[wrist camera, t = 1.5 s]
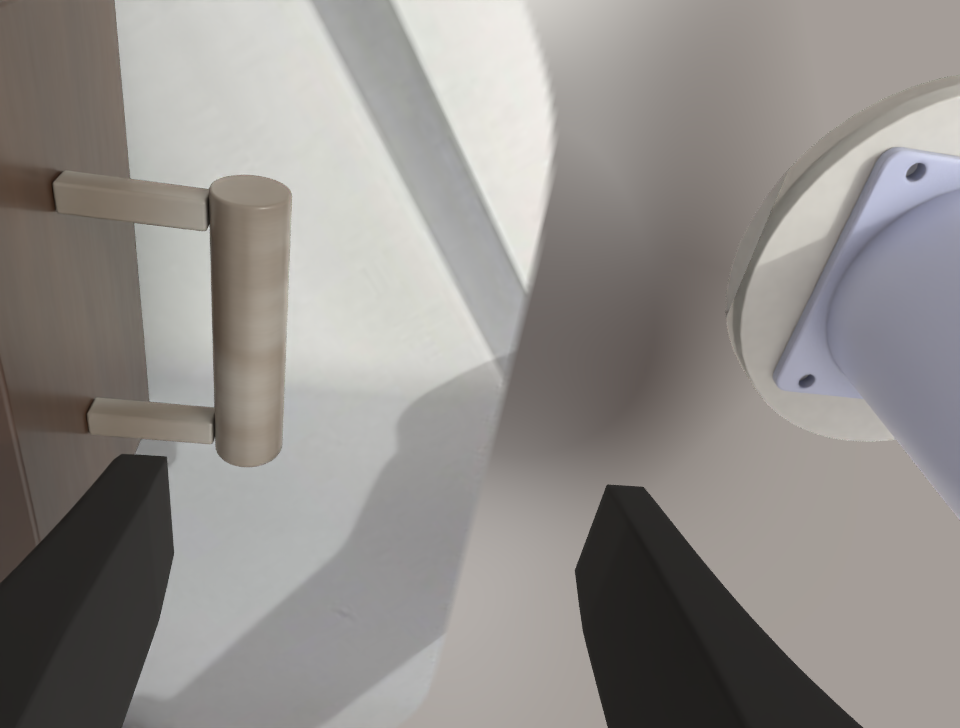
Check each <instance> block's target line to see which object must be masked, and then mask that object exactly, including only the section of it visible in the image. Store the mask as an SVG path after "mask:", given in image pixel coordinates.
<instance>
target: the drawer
mask: <svg viewBox="0 0 960 728" xmlns="http://www.w3.org/2000/svg"><path fill="white" fill-rule="evenodd" d="M291 211H292V194H291V191H290V189H289V188H288V187H287V186H285V185H284V184H282V183H280V182H278V181H276V180H273V179H270V178H266V177H261V176H254V175H234V176H227V177H223V178H220V179H218V180H216V181H214V182H213V183H212V184H211V185H210V188H209V189H203V188H196V187H188V186H181V185H173V184H165V183H158V182H150V181H143V180H135V179H130V173H129V162H128V150H127V139H126V127H125V116H124V104H123V93H122V82H121V70H120V59H119V47H118V36H117V24H116V13H115V1H114V0H0V583H1V582H2V581H3V580H4V579H5V578H6V577H7V576H8V575H9V574H10V573H11V572H12V571H13V570H14V569H15V568H16V567H17V566H18V565H19V564H20V563H21V562H22V561H23V560H24V558H25V557H26V556H27V555H28V554H29V553H30V552H31V551H32V550H33V549H34V548H35V547H36V546H37V545H38V544H39V543H40V542H41V541H42V540H43V539H44V538H45V537H46V536H47V535H48V533H49V532H50V531H51V530H52V529H53V528H54V527H55V526H56V525H57V524H58V523H59V522H60V521H61V519H62V518H63V517H64V516H65V515H66V514H67V513H68V512H69V511H70V510H71V508H72V507H73V506H74V505H75V504H76V503H77V502H78V501H79V499H80V498H81V497H82V496H83V495H84V494H85V493H86V491H87V490H88V489H89V488H90V487H91V486H92V484H93V483H94V482H95V481H96V480H97V479H98V477H99V476H100V475H101V474H102V473H103V471H104V470H105V469H106V468H107V467H108V465H109V464H110V463H111V462H112V461H113V459H115V458H116V457H118V456H119V455H120V454H133V455H134V454H135V452H136V450H137V447H138V445H139V443H140V440H141V439H151V440H164V441H177V442H189V443H202V444H212V443H213V441H214V438H215V447H216V451H217V453H218V454H219V456H220V457H221V458H222V459H223V460H224V461H226V462H227V463H230V464H232V465H235V466H240V467H255V466H260V465H263V464H266V463H268V462H270V461H272V460H273V459H274V458H275V457H276V456H277V455H278V454H279V453H280V451H281V448H282V439H283V413H284V388H285V363H286V337H287V312H288V287H289V261H290V236H291ZM134 223H140V224H148V225H157V226H165V227H173V228H181V229H189V230H197V231H206V230H207V228H208V226H209V224H210V257H211V295H212V334H213V372H214V407H203V406H191V405H180V404H168V403H157V402H149V391H148V379H147V368H146V356H145V345H144V333H143V322H142V310H141V299H140V288H139V276H138V265H137V253H136V242H135V230H134Z"/></svg>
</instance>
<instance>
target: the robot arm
mask: <svg viewBox="0 0 960 728" xmlns="http://www.w3.org/2000/svg"><path fill="white" fill-rule="evenodd" d="M915 163H918V166H917V169H916V170H915V171H914V172H913V173H912V174H910V175H909V176H906V173H907V170H908V169H909V168H910V167H911V166H912V165H914V164H915ZM805 375H808V377H807V378H805V379H803V380H800V379H801V378H802V377H803V376H805ZM773 380H774V382H775V384H776V385H777V387H778V388H779V389H780V390H783V391H789V392H799V393H809V394H818V395H828V396H838V397H848V398H857V399H864V400H865V401H866V402H867V404H868V405H869V406H870V407H871V409H872V410H873V411H874V412H875V414H876V415H877V416H878V418H879V419H880V420H881V421H882V423H883V424H884V425H885V426H886V428H887V429H888V430H889V432H890V433H891V434H892V435H893V437H894V438H895V439H896V440H897V442H898V443H899V444H900V445H901V447H902V448H903V449H904V450H905V452H906V453H907V454H908V456H909V457H910V458H911V459H912V461H913V462H914V463H915V464H916V466H917V467H918V468H919V470H920V471H921V472H922V473H923V475H924V476H925V477H926V478H927V479H928V481H929V482H930V483H931V485H932V486H933V487H934V488H935V490H936V491H937V492H938V494H939V495H940V496H941V497H942V499H943V500H944V501H945V502H946V504H947V505H948V506H949V507H950V509H951V510H952V511H953V512H954V514H955V515H956V516H957V518H958V519H959V520H960V156H954V155H948V154H942V153H935V152H929V151H923V150H917V149H911V148H905V147H894V148H891V149H889V150H887V151H886V152H884V153H883V154H882V155H881V156H880V157H879V159H878V160H877V161H876V163H875V165H874V167H873V169H872V171H871V173H870V175H869V177H868V180H867V182H866V184H865V186H864V188H863V190H862V192H861V194H860V196H859V198H858V200H857V202H856V204H855V206H854V208H853V210H852V212H851V214H850V216H849V218H848V221H847V223H846V225H845V227H844V229H843V231H842V233H841V235H840V237H839V239H838V241H837V243H836V245H835V247H834V249H833V251H832V253H831V255H830V257H829V259H828V262H827V264H826V266H825V268H824V270H823V272H822V274H821V276H820V278H819V280H818V282H817V284H816V286H815V288H814V290H813V292H812V294H811V296H810V298H809V300H808V303H807V305H806V307H805V309H804V311H803V313H802V315H801V317H800V319H799V321H798V323H797V325H796V327H795V329H794V331H793V333H792V335H791V337H790V339H789V341H788V344H787V346H786V348H785V350H784V352H783V354H782V356H781V358H780V360H779V362H778V364H777V366H776V368H775V370H774V373H773ZM173 556H174V546H173V533H172V520H171V506H170V493H169V480H168V466H167V457H164V456H149V455H133V454H120V455H119V456H118V457H116V458H115V459H113V461H112V462H111V463H110V464H109V465H108V467H107V468H106V469H105V470H104V471H103V473H102V474H101V475H100V476H99V477H98V479H97V480H96V481H95V482H94V483H93V484H92V486H91V487H90V488H89V489H88V490H87V491H86V493H85V494H84V495H83V496H82V497H81V498H80V499H79V501H78V502H77V503H76V504H75V505H74V506H73V507H72V508H71V510H70V511H69V512H68V513H67V514H66V515H65V516H64V517H63V518H62V519H61V521H60V522H59V523H58V524H57V525H56V526H55V527H54V528H53V529H52V530H51V531H50V532H49V533H48V535H47V536H46V537H45V538H44V539H43V540H42V541H41V542H40V543H39V544H38V545H37V546H36V547H35V548H34V549H33V550H32V551H31V552H30V553H29V554H28V555H27V556H26V557H25V558H24V560H23V561H22V562H21V563H20V564H19V565H18V566H17V567H16V568H15V569H14V570H13V571H12V572H11V573H10V574H9V575H8V576H7V577H6V578H5V579H4V580H3V581H2V582H1V583H0V728H122V725H123V722H124V719H125V716H126V714H127V711H128V708H129V705H130V702H131V699H132V697H133V694H134V691H135V688H136V685H137V682H138V680H139V677H140V674H141V671H142V668H143V665H144V662H145V659H146V657H147V654H148V651H149V648H150V645H151V642H152V639H153V636H154V633H155V631H156V628H157V625H158V622H159V618H160V614H161V610H162V605H163V601H164V597H165V592H166V588H167V583H168V579H169V574H170V570H171V565H172V561H173ZM575 575H576V583H577V591H578V600H579V607H580V614H581V621H582V628H583V633H584V638H585V642H586V646H587V649H588V653H589V657H590V661H591V665H592V669H593V673H594V677H595V681H596V684H597V688H598V692H599V696H600V700H601V703H602V707H603V711H604V715H605V718H606V722H607V726H608V728H863V727H862V726H861V725H859V724H858V723H857V722H856V721H855V720H854V719H853V718H852V717H851V716H849V715H848V714H847V713H846V712H845V711H844V710H843V709H842V708H841V707H840V706H839V705H837V704H836V703H835V702H834V701H833V700H832V699H831V698H830V697H829V696H828V695H827V694H826V693H825V692H824V691H823V690H822V689H820V688H819V687H818V686H817V685H816V684H815V683H814V682H813V681H812V680H811V679H810V678H809V677H808V676H807V675H806V674H805V673H804V672H803V671H802V670H801V669H800V668H799V667H798V666H797V665H796V664H795V663H794V662H793V661H792V660H791V659H790V658H789V657H788V656H787V655H786V654H785V653H784V652H783V651H782V650H781V649H780V648H779V647H778V645H776V643H775V642H774V641H773V640H772V639H771V638H770V637H769V636H768V635H767V634H766V633H765V632H764V631H763V630H762V628H761V627H759V625H758V624H757V623H756V622H755V621H754V620H753V619H752V618H751V617H750V616H749V614H748V613H747V612H746V611H745V610H744V609H743V607H742V606H741V605H740V604H739V603H738V602H737V601H736V599H735V598H734V597H733V596H732V595H731V594H730V593H729V591H728V590H727V589H726V588H725V587H724V586H723V584H722V583H721V582H720V581H719V580H718V578H717V577H716V576H715V575H714V574H713V572H712V571H711V570H710V569H709V568H708V567H707V565H706V564H705V563H704V562H703V560H702V559H701V558H700V557H699V556H698V554H697V553H696V552H695V550H693V548H692V547H691V546H690V545H689V543H688V542H687V541H686V539H685V538H684V537H683V536H682V534H681V533H680V532H679V531H678V529H677V528H676V527H675V526H674V524H673V523H672V522H671V521H670V519H669V518H668V517H667V515H666V514H665V513H664V512H663V511H662V509H661V508H660V507H659V505H658V504H657V503H656V502H655V500H654V499H653V498H652V497H651V496H650V494H649V493H648V492H647V491H646V490H645V488H644V487H635V486H621V485H620V486H619V485H607V486H606V488H605V491H604V494H603V497H602V499H601V502H600V505H599V507H598V510H597V513H596V515H595V518H594V521H593V523H592V526H591V529H590V531H589V534H588V537H587V539H586V542H585V545H584V547H583V550H582V553H581V556H580V558H579V561H578V564H577V566H576V569H575Z"/></svg>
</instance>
